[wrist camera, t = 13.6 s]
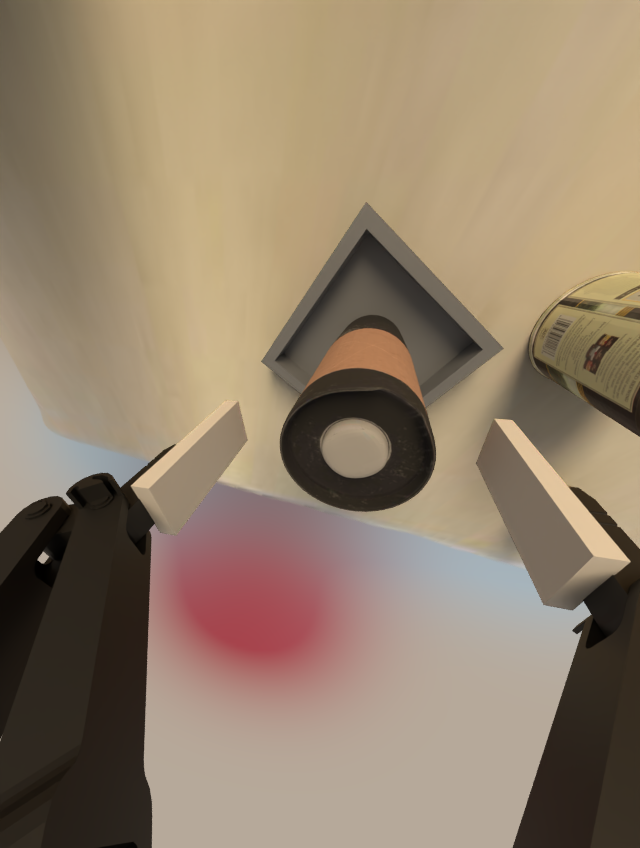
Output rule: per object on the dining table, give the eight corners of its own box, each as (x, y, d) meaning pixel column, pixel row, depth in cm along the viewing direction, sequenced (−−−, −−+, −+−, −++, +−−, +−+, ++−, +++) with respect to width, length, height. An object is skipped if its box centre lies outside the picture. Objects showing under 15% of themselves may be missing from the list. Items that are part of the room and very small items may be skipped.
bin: (273, 352, 32) (261, 361, 29) (368, 211, 23) (366, 201, 20) (371, 432, 35) (370, 449, 32) (488, 338, 26) (503, 348, 23)
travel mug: (344, 384, 31) (302, 514, 15) (329, 321, 28) (252, 401, 11) (408, 373, 29) (442, 513, 12) (401, 302, 25) (435, 369, 9)
